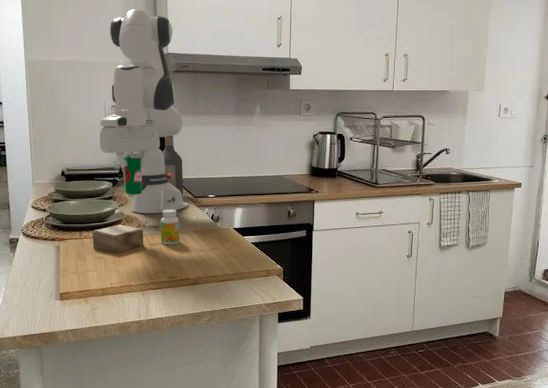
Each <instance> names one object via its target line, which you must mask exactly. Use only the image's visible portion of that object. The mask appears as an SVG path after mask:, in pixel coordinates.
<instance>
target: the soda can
mask: <svg viewBox="0 0 548 388" xmlns="http://www.w3.org/2000/svg"><path fill="white" fill-rule="evenodd" d="M123 157H124V159H125V161H128V167H123V173H124V179H123V180H124V193H125V194H126V195H130V196H133V195H134V196H135V195H137V194H141V193H142V170H141V157H140V154H133V153H125V156H123Z"/></svg>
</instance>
